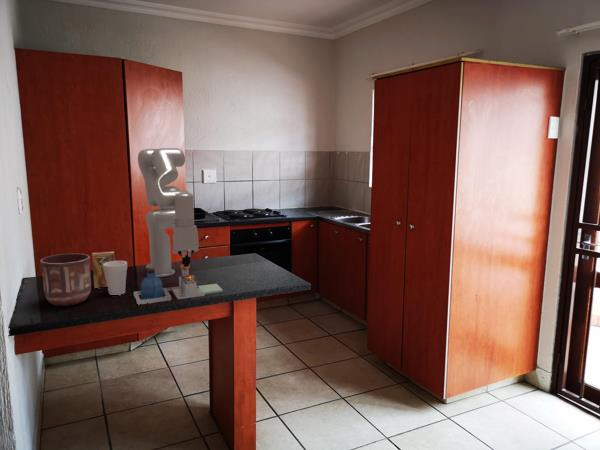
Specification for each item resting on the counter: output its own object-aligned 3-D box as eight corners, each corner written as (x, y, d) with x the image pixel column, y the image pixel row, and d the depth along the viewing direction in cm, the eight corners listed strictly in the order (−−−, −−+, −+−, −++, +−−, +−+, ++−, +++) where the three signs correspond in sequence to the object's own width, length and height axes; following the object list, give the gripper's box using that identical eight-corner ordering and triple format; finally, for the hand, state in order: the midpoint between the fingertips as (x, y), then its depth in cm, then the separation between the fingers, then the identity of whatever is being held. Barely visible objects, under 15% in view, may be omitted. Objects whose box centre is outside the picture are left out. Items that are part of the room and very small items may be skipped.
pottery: (41, 312, 172) (37, 265, 169) (45, 298, 188) (42, 255, 185) (92, 306, 179) (90, 261, 176) (93, 293, 195) (90, 251, 192)
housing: (137, 304, 180) (136, 290, 179) (133, 294, 192) (132, 281, 192) (204, 295, 191) (204, 282, 190) (196, 286, 204) (196, 273, 203)
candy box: (116, 284, 207) (114, 251, 204) (116, 287, 203) (113, 253, 200) (94, 286, 204) (92, 252, 201) (94, 289, 200) (91, 254, 197)
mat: (199, 294, 192) (199, 292, 192) (194, 288, 201) (194, 286, 201) (222, 291, 197) (222, 289, 197) (216, 285, 206) (216, 283, 205)
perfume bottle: (155, 300, 185) (153, 271, 183) (141, 299, 186) (139, 271, 184) (162, 296, 191) (161, 268, 189) (149, 295, 192) (147, 267, 190)
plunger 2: (186, 294, 188) (185, 278, 187) (184, 291, 192) (183, 275, 191) (195, 293, 190) (195, 276, 189) (193, 290, 193) (193, 274, 192)
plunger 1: (181, 282, 195) (181, 266, 194) (179, 280, 198) (179, 264, 197) (191, 281, 196) (190, 265, 195) (189, 279, 200) (188, 263, 199)
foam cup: (114, 298, 188) (112, 267, 186) (100, 294, 192) (98, 264, 190) (133, 292, 196) (131, 262, 193) (119, 288, 200) (117, 259, 198)
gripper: (167, 225, 184) (169, 270, 187) (205, 223, 190) (206, 266, 193) (164, 222, 190) (166, 265, 194) (200, 220, 197) (201, 261, 200)
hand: (186, 265), depth 193 cm, fingers closed
